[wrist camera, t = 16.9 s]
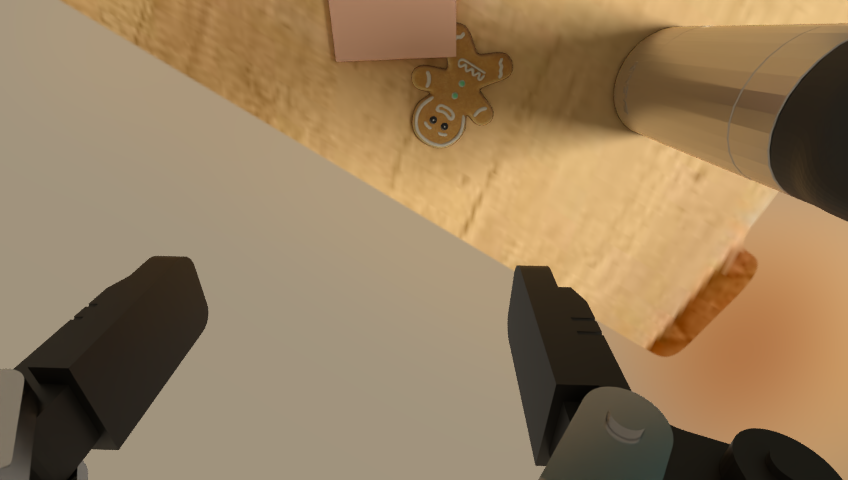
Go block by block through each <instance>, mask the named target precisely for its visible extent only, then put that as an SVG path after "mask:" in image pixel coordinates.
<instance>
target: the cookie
mask: <svg viewBox="0 0 848 480" xmlns="http://www.w3.org/2000/svg"><path fill="white" fill-rule="evenodd" d="M447 62H448V67H447V68H446V69H442V68H437V67H433V66H426V65H422V66H418V67H417V68H415V69H414V71H413V72H412V77H411V78H412V83H413V84H414V86H415V87H416V88H417V89H420V90H424V91H428V92H430V94H429V95H428V96H427V97H425V98H423V99H422V100H421V101H420V102H419V103H418V104H417V106H416V108H415V110H414V113H413V119H412V126H413V130H414V132H415V134H416V136H417V137H418V138H419V139H420V140H421V141H422V142H424V143H425V144H427V145H429V146H432V147H435V148H445V147H448V146H451V145H452V144H454V143H455V142H456V141H457V140H458V139H459V138H460V137H461V135H462V134H463V132H464V130H465V125H466V116H469V117H470V118H471V119H472V120H473V122H474V123H475V124H477V125H486V124H488V123H489V122H490V121H491V120H492V117H493V110H492V108H491V106H490V104H489V103H488V101H487V100H486V99H485V97H484V96H483V95H482V93H481V92H480V89H481V88H482V87H484V86H487V85H489V84H492V83H495V82H498V81H501V80H504V79H505V78H507V77H508V76H510V74H511V72H512V68H513V65H512V60H511V59H510V57H509V56H508V55H507V54H505V53H499V52H496V53H488V54H478V53H477V51H476V49H475V46H474V43H473V40H472V37H471V34H470V32H469V30H468V29H467V28H466V26H464V25H462V24H459V23H456V57H447Z"/></svg>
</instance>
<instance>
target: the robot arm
mask: <svg viewBox="0 0 848 480" xmlns="http://www.w3.org/2000/svg"><path fill="white" fill-rule="evenodd" d="M614 102H615V108H616V111H617V114H618V116H619V118H620V119H621V121H622V122H623V124H624V125H625V126H627V127H628V128H629V129H630V130H632V131H634V132H637V133H639V134H641V135H644V136H646V137H648V138H651V139H653V140H656V141H658V142H660V143H662V144H665V145H667V146H670V147H672V148H675V149H677V150H679V151H682V152H684V153H687V154H689V155H692V156H694V157H696V158H699V159H701V160H704V161H706V162H709V163H711V164H714V165H716V166H718V167H721V168H723V169H726V170H728V171H731V172H733V173H736V174H738V175H740V176H743V177H745V178H748V179H750V180H753V181H756V182H758V183H761V184H763V185H765V186H768V187H770V188H773V189H775V190H778V191H780V192H783V193H785V194H787V195H790V196H793V197H795V198H797V199H800V200H802V201H805V202H807V203H810V204H812V205H815V206H817V207H819V208H821V209H822V210H824V211H826V212H828V213H830V214H832V215H834V216H836V217H839V218H841V219H843V220H846V221H848V23H839V24H795V25H743V26H689V27H670V28H666V29H662V30H660V31H658V32H655V33H653V34H651V35H649V36H648V37H647V38H645V39H644V40H643V41H641V42H640V43H639V44H638V45H637V46H636V47H635V48H634V49H633V50H632V51H631V52H630V54H629V55H628V57H627V58H626V60H625V61H624V63H623V64H622V66H621V69H620V71H619V73H618V76H617V79H616V83H615V88H614ZM207 320H208V306H207V302H206V300H205V296H204V293H203V290H202V287H201V284H200V281H199V278H198V275H197V272H196V269H195V266H194V264H193V262H192V261H191V259H190V258H188V257H176V256H154V257H151V258H149V259H148V260H147V261H146V262H145V263H144V264H142V265H141V266H140V267H139V268H138V269H137V270H136V271H135V272H133V273H132V274H131V275H130V276H129V277H127V278H125V279H123V280H121V281H119V282H118V283H116V284H114V285H112V286H110V287H108V288H106V289H105V290H104V291H103V292H102V293H101V294H100V295H98V296H97V297H96V298H95V299H94V300H93V301H91V302H90V303H89V307H85V308H84V309H82V310H81V311H80V312H79V313H78V314H76V315H75V316H74V320H70V321H68V322H67V323H66V324H65V325H64V326H63V327H61V328H60V329H59V330H58V331H57V332H56V333H55V334H53V335H52V336H51V337H50V338H49V339H48V340H46V341H45V342H44V343H43V344H42V345H41V346H40V347H38V348H37V349H36V350H35V351H34V352H33V353H32V354H30V355H29V356H28V357H27V358H26V359H25V360H23V361H22V362H21V363H20V364H19V365H18V366H16V367H15V368H14V369H0V480H88V469H87V466H86V464H85V463H84V461H83V459H84V458H85V457H86V455H87V454H88V453H89V451H90V450H91V449H103V450H119V449H120V447H121V446H122V444H123V443H124V441H125V440H126V439H127V437H128V436H129V434H130V433H131V431H132V430H133V429H134V428H135V426H136V425H137V423H138V422H139V421H140V419H141V418H142V416H143V415H144V414H145V412H146V411H147V409H148V408H149V407H150V405H151V404H152V402H153V401H154V399H155V398H156V397H157V395H158V394H159V392H160V391H161V389H162V388H163V386H164V385H165V384H166V382H167V381H168V380H169V378H170V377H171V375H172V374H173V373H174V371H175V370H176V369H177V367H178V366H179V364H180V363H181V361H182V360H183V359H184V357H185V356H186V354H187V353H188V352H189V350H190V349H191V347H192V346H193V345H194V343H195V342H196V340H197V339H198V338H199V336H200V335H201V333H202V332H203V330H204V329H205V326H206V324H207ZM508 338H509V343H510V348H511V353H512V357H513V362H514V367H515V371H516V376H517V381H518V385H519V390H520V395H521V400H522V404H523V409H524V414H525V418H526V423H527V428H528V432H529V437H530V442H531V446H532V451H533V456H534V461H535V465H536V466H546V467H545V469H544V471H543V473H542V474H541V476H540V478H539V480H842V478H841V477H840V476H839V475H838V474H837V472H836V471H835V470H834V469H833V468H832V467H831V466H830V465H829V464H828V463H827V462H826V461H825V460H824V459H823V458H821V457H820V456H819V455H818V454H816V453H815V452H814V451H812V450H811V449H809V448H808V447H806V446H805V445H803V444H801V443H800V442H798V441H796V440H794V439H792V438H790V437H788V436H785V435H783V434H780V433H777V432H774V431H770V430H766V429H756V428H753V429H746V430H744V431H741V432H739V434H737V435H736V436H735V438H734V439H733V441H732V442H731V444H727V443H724V442H720V441H717V440H714V439H711V438H707V437H704V436H700V435H697V434H694V433H691V432H687V431H684V430H681V429H679V428H676V427H673V426H672V425H670V424H669V423H668V421H667V419H666V418H665V416H664V415H663V414H662V413H661V411H660V410H659V409H658V408H657V407H656V406H654V405H653V404H652V403H651V402H649V401H648V400H647V399H645V398H644V397H642V396H640V395H638V394H636V393H634V392H632V391H631V389H630V387H629V385H628V383H627V381H626V379H625V377H624V375H623V373H622V371H621V369H620V367H619V365H618V363H617V361H616V359H615V357H614V356H613V353H612V351H611V349H610V347H609V345H608V343H607V341H606V340H605V338H604V336H603V335H602V331H601V330H600V327H599V325H598V323H597V322H596V321H595V317H594V315H593V313H592V311H591V309H590V307H589V305H588V303H587V302H586V301H585V300H584V299H583V298H582V297H581V296H580V295H579V294H578V293H576V292H575V291H574V290H573V289H572V288H571V287H558V286H557V284H556V281H555V279H554V277H553V274H552V272H551V270H550V268H549V267H548V266H516V268H515V272H514V279H513V286H512V292H511V299H510V305H509V312H508Z"/></svg>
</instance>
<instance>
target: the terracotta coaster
mask: <svg viewBox="0 0 848 480" xmlns="http://www.w3.org/2000/svg"><path fill="white" fill-rule="evenodd" d="M329 8H330V17H331V25H332V33H333V41H334V49H335V57H336V62H345V61H368V60H392V59H415V58H439V57H456V0H329Z"/></svg>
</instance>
